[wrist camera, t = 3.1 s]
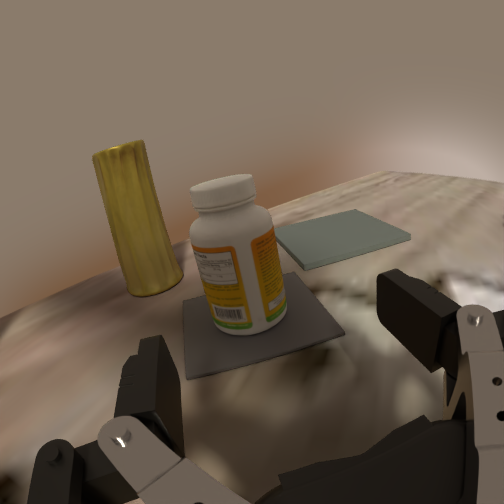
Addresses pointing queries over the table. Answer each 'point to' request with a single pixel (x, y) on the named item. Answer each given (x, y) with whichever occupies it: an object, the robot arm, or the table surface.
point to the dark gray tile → (256, 345)
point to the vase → (136, 219)
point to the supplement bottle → (237, 256)
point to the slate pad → (337, 238)
